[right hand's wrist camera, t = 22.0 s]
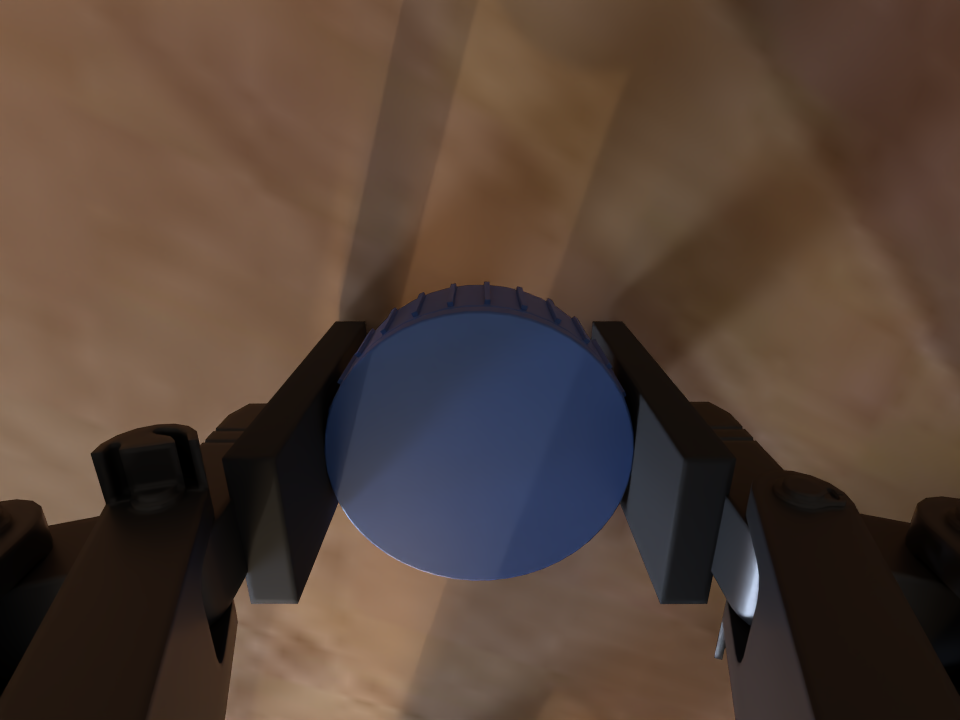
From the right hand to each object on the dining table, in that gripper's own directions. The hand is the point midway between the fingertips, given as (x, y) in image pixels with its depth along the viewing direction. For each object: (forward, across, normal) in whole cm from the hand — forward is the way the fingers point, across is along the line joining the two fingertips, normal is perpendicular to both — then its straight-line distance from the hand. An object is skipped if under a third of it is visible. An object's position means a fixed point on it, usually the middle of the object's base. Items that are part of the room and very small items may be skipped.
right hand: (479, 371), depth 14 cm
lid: (-4, 0, 0) cm, 4 cm away
